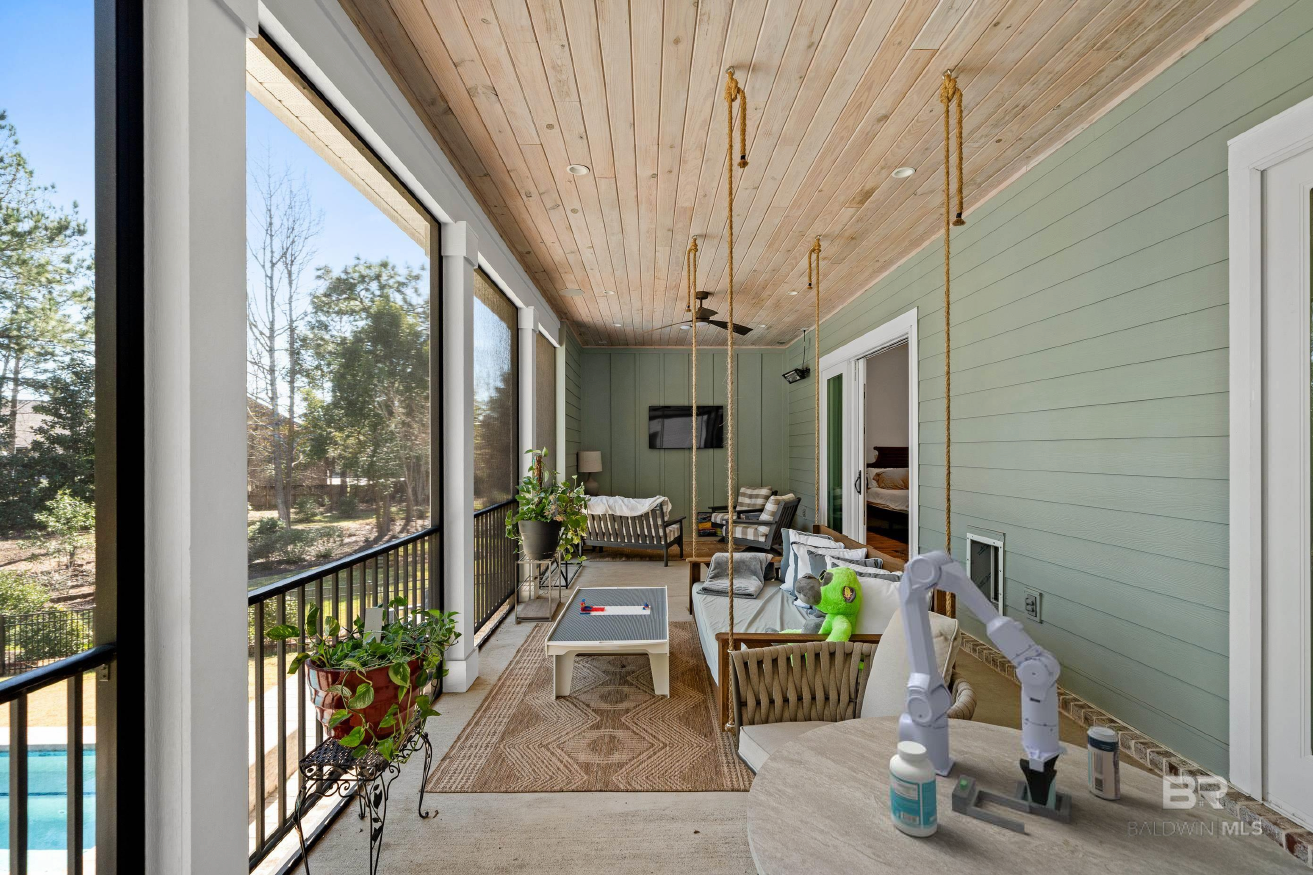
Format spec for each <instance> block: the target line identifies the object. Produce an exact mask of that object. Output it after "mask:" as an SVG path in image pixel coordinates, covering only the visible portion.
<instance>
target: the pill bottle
mask: <svg viewBox="0 0 1313 875" xmlns="http://www.w3.org/2000/svg"><path fill="white" fill-rule="evenodd" d="M896 748H897V754H895V755H893V756H892V757H891V758H890V761H889V785H890V786H889V787H890V788H889V789H890V790H889V791H890V792H889V793H890V817H891V821H892V823H893V825H894V827H896V828H897V829H898V830H899V831H901V832H902V833H905V834H907V835H909V836H914V837H920V838H925V837H930V836H931V835H933V834H935V833H936V831H937V829H938V816H937V815H938V809H937V808H938V806H937V780H936V776H937V775H936V773H935V768H934V766H933V764H932V763H931V762H930V761H929V760H928V759H926V757H927V754H926V748H925V747H924V746H923V745H921V744H919V743H916V742H911V741H903V742H900V743H899V742H898V743H897V747H896Z"/></svg>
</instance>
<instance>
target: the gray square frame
mask: <svg viewBox="0 0 1313 875" xmlns="http://www.w3.org/2000/svg"><path fill="white" fill-rule="evenodd" d="M1025 793H1028V787H1027V781H1023V780H1019V779H1018V780H1017V784H1016V787H1015V791H1014V794H1013V797H1012V798H1015V799H1018V800H1021V801H1024V802H1028V800H1023V799H1024V796H1025ZM1056 802H1059V803H1061V805H1060V810H1056V809H1055V810H1054V809H1051V808H1047V807H1044V806H1041V805H1037V804H1034V803H1031V802H1028V803H1030V813H1031V814H1034V815H1037V816H1041V817H1043V818H1047V819H1050V820H1052V821H1057V822H1059V823H1064V824H1067V825H1069V819H1070V812H1071V806H1072V794H1067V793H1065V792H1060V791H1057V790H1056Z"/></svg>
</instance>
